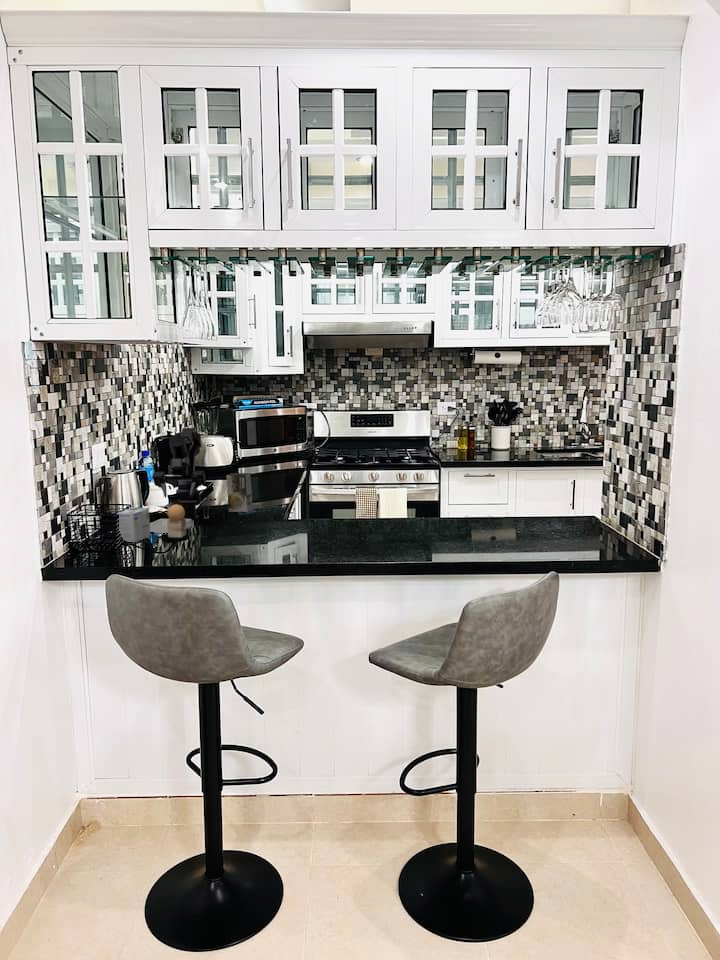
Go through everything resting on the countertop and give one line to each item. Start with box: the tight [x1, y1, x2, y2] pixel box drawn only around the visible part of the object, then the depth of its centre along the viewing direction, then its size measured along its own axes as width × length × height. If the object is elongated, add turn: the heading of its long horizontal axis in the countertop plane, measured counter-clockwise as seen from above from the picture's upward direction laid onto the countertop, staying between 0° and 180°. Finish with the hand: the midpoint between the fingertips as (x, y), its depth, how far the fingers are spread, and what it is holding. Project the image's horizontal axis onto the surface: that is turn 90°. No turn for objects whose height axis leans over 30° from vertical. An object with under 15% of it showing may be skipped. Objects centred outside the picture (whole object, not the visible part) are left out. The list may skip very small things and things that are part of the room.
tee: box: [167, 518, 187, 538], centre depth 257 cm, size 5×5×6 cm
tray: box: [150, 518, 193, 533], centre depth 268 cm, size 12×12×3 cm
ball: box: [167, 504, 185, 521], centre depth 256 cm, size 6×6×6 cm
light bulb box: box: [116, 507, 151, 544], centre depth 252 cm, size 11×7×11 cm, turn 166°
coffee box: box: [226, 472, 254, 513], centre depth 305 cm, size 9×6×16 cm
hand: (178, 496), depth 264 cm, fingers open, 9 cm apart
